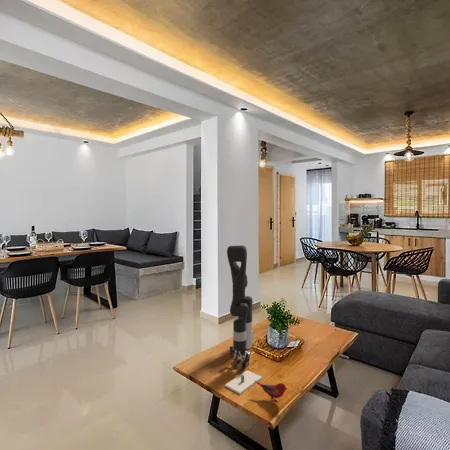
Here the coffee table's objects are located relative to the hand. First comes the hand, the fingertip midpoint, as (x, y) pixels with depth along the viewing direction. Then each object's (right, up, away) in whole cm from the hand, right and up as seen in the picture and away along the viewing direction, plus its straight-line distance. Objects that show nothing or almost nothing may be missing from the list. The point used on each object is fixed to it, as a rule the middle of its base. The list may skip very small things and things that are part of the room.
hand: (240, 366), depth 176 cm
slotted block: (0, 0, 0) cm, 0 cm away
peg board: (+1, -2, -15) cm, 15 cm away
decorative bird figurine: (+13, -3, -29) cm, 31 cm away
